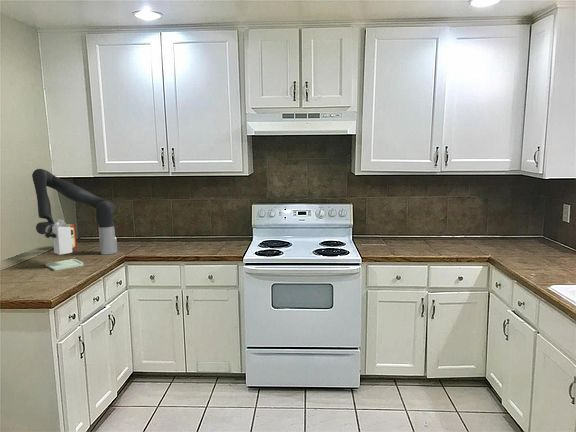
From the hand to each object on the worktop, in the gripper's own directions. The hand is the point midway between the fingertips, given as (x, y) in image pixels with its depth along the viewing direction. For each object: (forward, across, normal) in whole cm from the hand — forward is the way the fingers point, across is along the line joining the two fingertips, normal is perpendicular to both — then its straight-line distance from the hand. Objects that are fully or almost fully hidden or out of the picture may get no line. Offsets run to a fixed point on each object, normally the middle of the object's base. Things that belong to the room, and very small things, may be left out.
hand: (63, 235), depth 250 cm
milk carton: (-2, 0, +11) cm, 11 cm away
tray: (-2, 0, +18) cm, 18 cm away
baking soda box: (-49, +16, +19) cm, 55 cm away
